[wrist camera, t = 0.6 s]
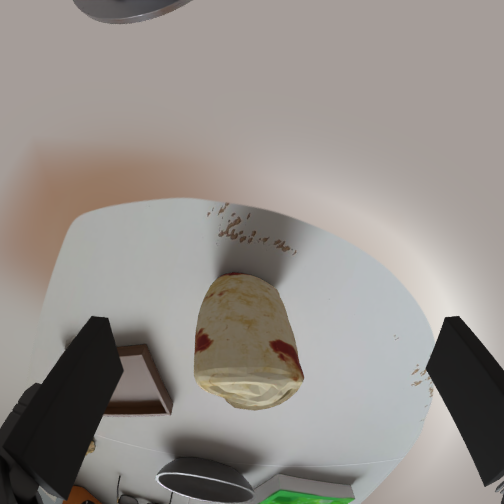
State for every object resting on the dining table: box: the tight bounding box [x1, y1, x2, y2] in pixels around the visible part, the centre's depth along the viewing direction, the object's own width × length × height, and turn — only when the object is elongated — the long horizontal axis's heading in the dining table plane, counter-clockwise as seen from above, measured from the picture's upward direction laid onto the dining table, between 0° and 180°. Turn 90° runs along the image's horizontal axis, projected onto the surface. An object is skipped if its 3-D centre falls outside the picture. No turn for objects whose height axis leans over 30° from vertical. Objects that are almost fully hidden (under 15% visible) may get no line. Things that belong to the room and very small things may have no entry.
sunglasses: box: [117, 476, 173, 504], centre depth 56 cm, size 14×15×5 cm
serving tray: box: [59, 344, 173, 417], centre depth 43 cm, size 13×16×3 cm
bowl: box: [155, 457, 256, 504], centre depth 51 cm, size 12×22×6 cm, turn 61°
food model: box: [194, 272, 304, 410], centre depth 31 cm, size 10×7×20 cm
